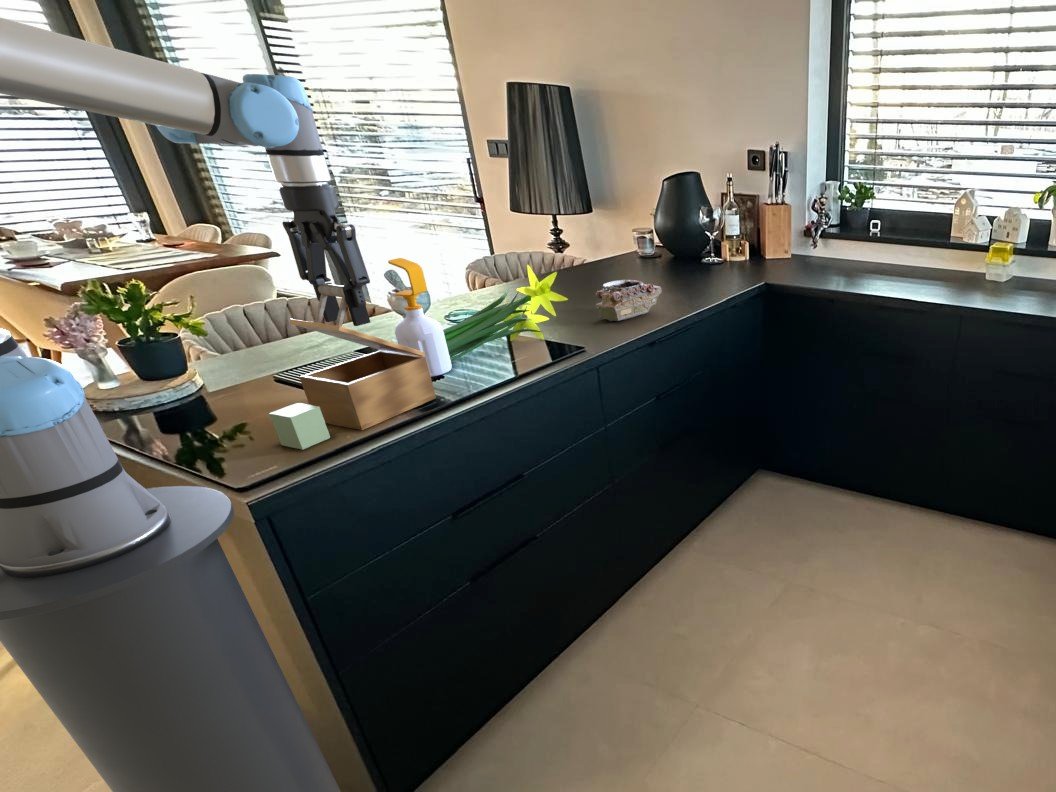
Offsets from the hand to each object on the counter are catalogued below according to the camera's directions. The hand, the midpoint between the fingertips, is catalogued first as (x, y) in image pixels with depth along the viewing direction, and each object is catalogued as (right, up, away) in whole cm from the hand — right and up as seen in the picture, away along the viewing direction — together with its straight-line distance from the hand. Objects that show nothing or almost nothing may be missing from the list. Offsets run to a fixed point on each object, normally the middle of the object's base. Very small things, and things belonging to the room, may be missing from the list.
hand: (348, 321), depth 113 cm
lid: (0, -3, +3) cm, 4 cm away
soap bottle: (-2, -6, +28) cm, 28 cm away
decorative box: (+30, +17, +75) cm, 83 cm away
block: (-4, -22, -5) cm, 23 cm away
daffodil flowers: (+7, +2, +43) cm, 44 cm away
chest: (0, -15, +8) cm, 17 cm away
